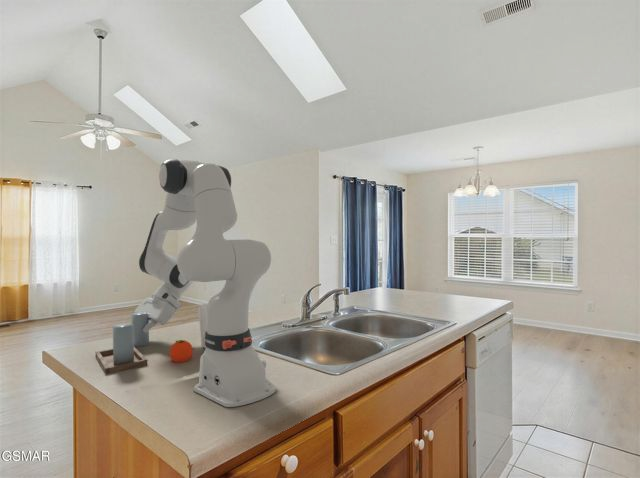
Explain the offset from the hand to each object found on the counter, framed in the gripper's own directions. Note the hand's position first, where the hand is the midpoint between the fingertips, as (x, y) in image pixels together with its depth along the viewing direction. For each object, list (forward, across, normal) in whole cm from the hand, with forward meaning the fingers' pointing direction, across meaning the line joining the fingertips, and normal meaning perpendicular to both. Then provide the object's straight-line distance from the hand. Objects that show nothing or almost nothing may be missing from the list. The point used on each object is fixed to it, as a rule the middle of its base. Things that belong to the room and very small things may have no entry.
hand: (138, 329), depth 130 cm
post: (+4, 0, +5) cm, 6 cm away
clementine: (+3, +26, +6) cm, 27 cm away
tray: (+12, +12, -3) cm, 17 cm away
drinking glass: (-7, +19, +16) cm, 26 cm away
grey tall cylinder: (+12, +17, -4) cm, 21 cm away
